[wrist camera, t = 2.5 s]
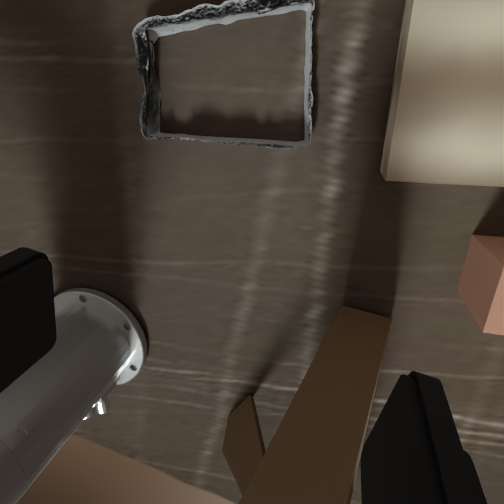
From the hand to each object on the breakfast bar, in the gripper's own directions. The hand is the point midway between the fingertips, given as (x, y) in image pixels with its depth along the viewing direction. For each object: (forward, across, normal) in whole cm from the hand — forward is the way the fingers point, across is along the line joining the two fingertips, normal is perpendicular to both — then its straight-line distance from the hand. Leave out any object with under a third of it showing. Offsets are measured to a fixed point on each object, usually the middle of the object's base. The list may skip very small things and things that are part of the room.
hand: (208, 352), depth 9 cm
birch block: (+23, -10, -9) cm, 27 cm away
